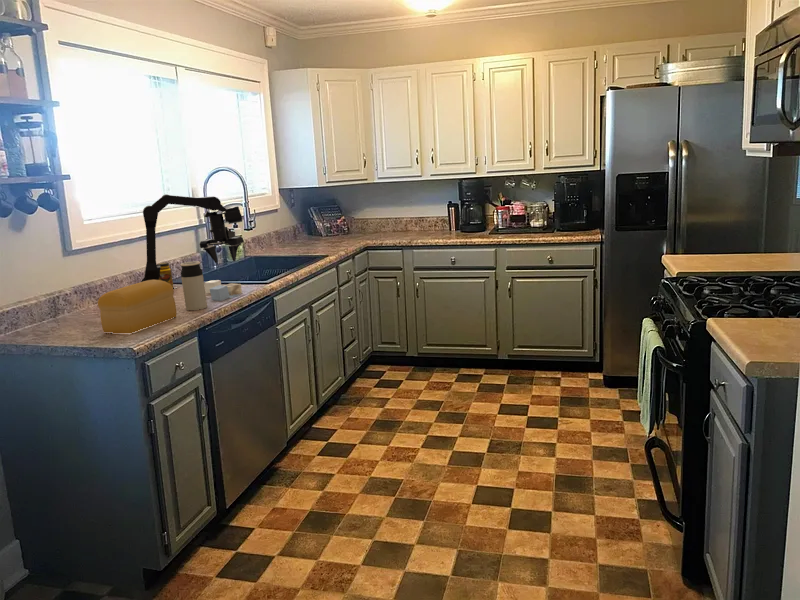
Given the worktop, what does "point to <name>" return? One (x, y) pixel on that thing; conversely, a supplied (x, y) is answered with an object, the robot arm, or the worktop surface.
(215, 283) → the cream cube
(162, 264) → the condiment
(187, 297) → the travel mug
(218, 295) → the blue cube
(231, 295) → the tile
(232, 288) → the birch block
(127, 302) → the bread
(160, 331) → the worktop surface
